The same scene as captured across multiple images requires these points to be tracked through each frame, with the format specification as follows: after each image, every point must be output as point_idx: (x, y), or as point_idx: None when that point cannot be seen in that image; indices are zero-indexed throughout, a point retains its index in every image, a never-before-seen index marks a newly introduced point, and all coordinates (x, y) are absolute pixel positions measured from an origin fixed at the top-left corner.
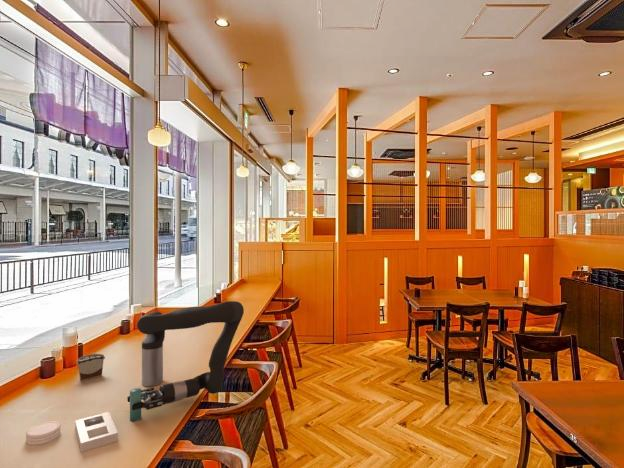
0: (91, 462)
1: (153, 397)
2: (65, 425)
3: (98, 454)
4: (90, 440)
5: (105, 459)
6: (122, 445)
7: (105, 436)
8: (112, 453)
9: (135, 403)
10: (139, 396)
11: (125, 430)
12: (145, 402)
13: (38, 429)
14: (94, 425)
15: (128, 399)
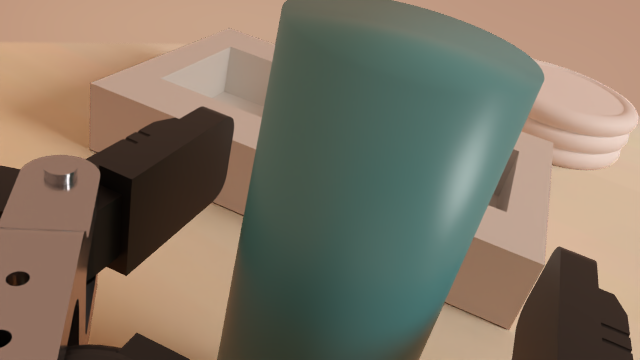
0: (82, 43)
1: None
2: (620, 205)
3: (103, 73)
4: (203, 39)
5: (17, 53)
6: (4, 125)
7: (149, 61)
8: (14, 79)
9: (196, 125)
10: (260, 140)
11: (159, 249)
12: (29, 175)
13: (562, 81)
14: None
15: (537, 284)
